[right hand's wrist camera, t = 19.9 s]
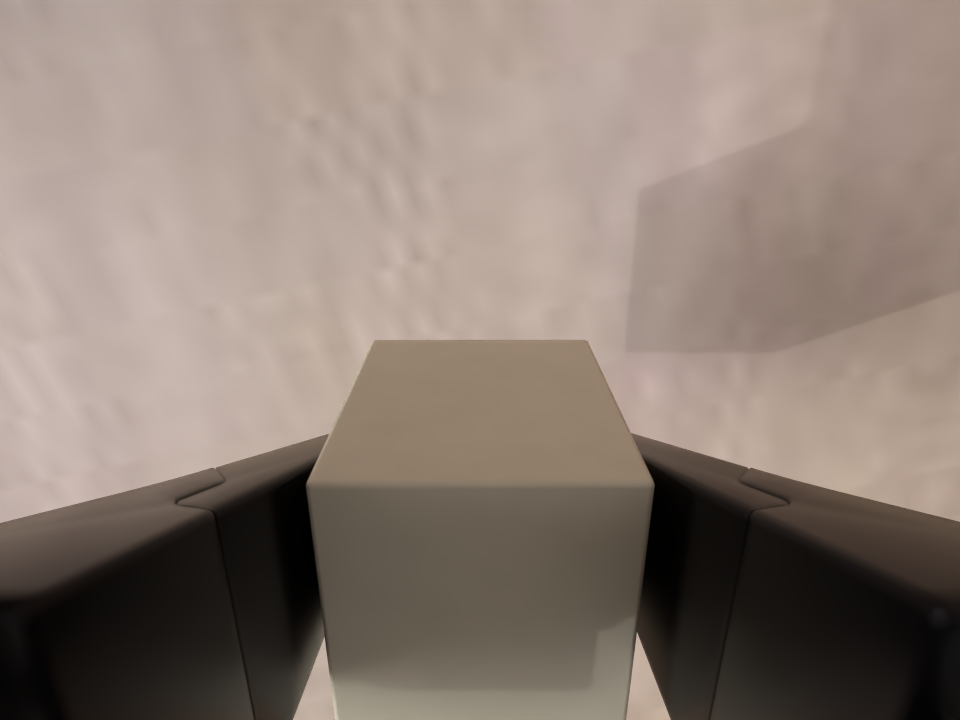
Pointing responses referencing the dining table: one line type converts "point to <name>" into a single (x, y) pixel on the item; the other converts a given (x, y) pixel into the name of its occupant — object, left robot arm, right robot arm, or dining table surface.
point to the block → (480, 535)
